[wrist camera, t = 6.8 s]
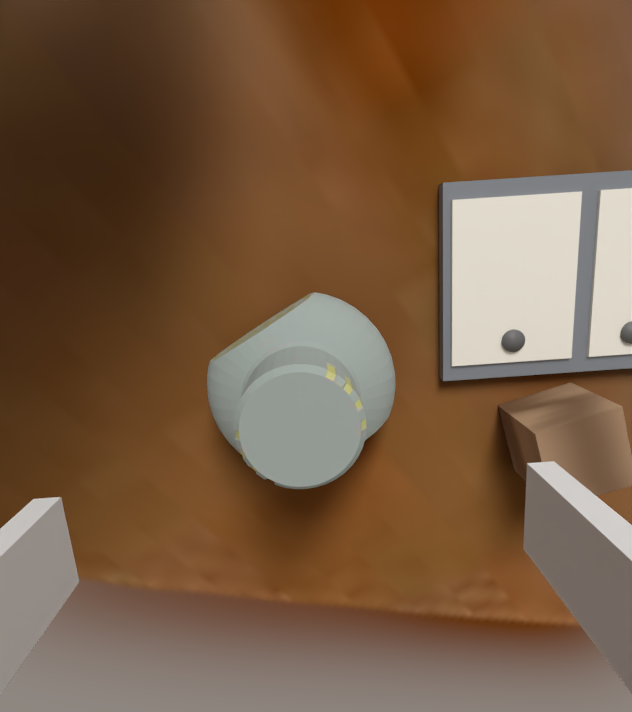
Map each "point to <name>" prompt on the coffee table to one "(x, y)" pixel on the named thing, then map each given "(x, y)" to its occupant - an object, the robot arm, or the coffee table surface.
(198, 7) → the coffee table surface
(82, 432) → the coffee table surface
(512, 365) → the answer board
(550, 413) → the walnut block
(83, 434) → the coffee table surface
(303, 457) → the air freshener
